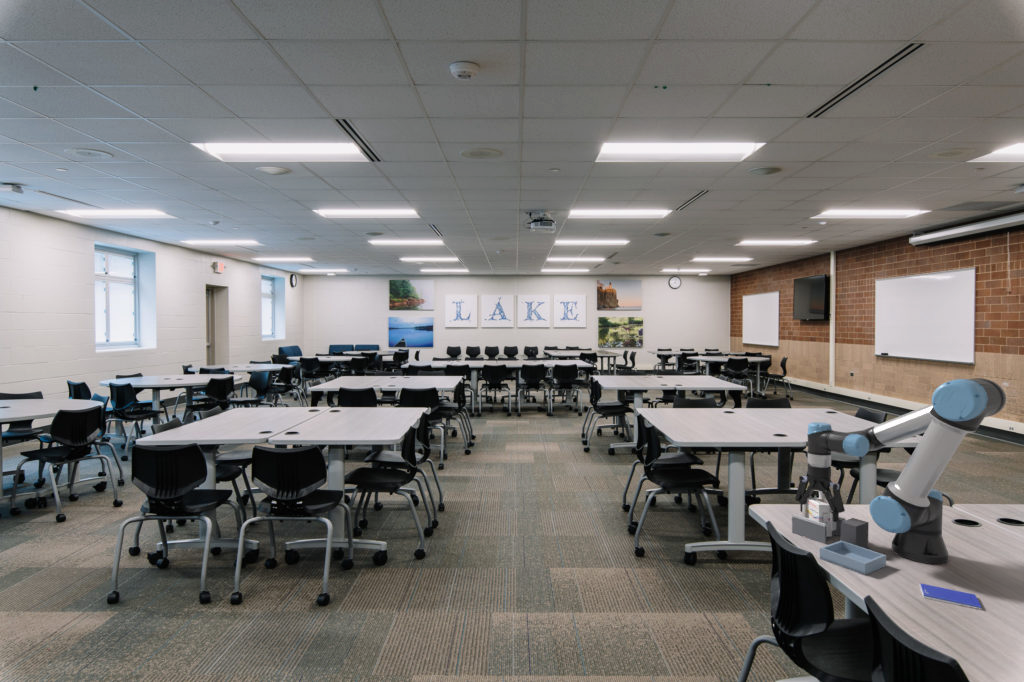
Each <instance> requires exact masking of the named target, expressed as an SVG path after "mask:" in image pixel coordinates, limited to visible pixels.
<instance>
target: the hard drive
mask: <svg viewBox="0 0 1024 682" xmlns="http://www.w3.org/2000/svg"><path fill="white" fill-rule="evenodd" d="M919 589H920V592H921V594H922V598H923V599H926V600H927V599H928V600H931V601H937V602H941V603H946V604H950V603H951V604H952V605H955V604H956V606H960V605H964V606H969V607H976V608H981V609H982V605H981V604H980V601H979V599H978V597H977V595H976V594H975V593H974V594H973V593H969V592H964V591H960V590H955V589H950V588H945V587H940V586H935V585H930V584H925V583H919ZM964 606H963V607H964ZM969 607H968V608H969Z"/></svg>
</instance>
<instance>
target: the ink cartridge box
mask: <svg viewBox="0 0 1024 682" xmlns="http://www.w3.org/2000/svg"><path fill="white" fill-rule="evenodd" d="M830 498H831V496H830ZM830 512H832V510H831V508H830V505H829V503H828V501H827V499H826V497H825V495H824V494H823V493H822V491H819V490H818V497H809V498H807V518H809V519H812V520H815V521H818V522H822V523H825V524H827V536H826V538H827V537H830V538H831V537H832V536H833V534H832V531H830Z"/></svg>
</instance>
